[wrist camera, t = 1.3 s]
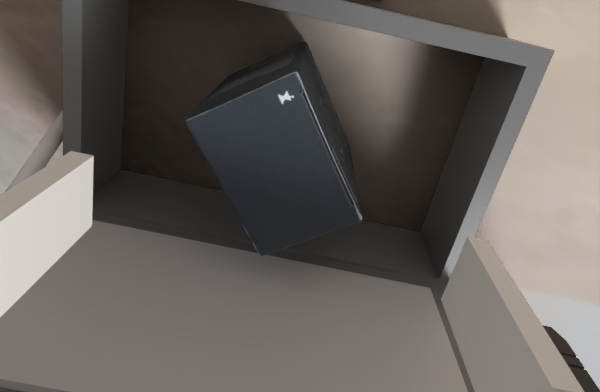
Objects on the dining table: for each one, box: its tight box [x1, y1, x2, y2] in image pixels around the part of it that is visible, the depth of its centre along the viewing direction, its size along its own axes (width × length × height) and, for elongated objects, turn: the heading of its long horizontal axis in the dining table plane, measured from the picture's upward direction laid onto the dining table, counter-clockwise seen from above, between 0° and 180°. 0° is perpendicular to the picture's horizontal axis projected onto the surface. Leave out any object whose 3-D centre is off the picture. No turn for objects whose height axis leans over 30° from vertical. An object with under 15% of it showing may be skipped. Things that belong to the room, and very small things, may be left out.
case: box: [0, 0, 554, 392], centre depth 21 cm, size 26×16×20 cm, turn 78°
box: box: [185, 42, 362, 256], centre depth 25 cm, size 8×6×11 cm
